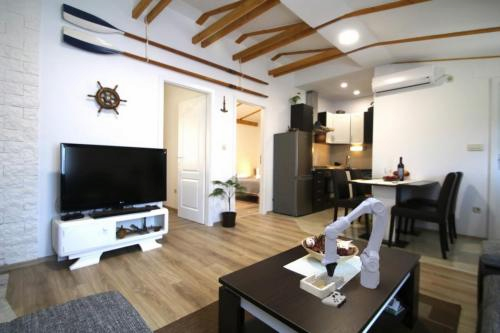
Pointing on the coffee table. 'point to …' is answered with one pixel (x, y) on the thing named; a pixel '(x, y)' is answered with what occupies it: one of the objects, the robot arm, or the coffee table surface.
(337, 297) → the gaming controller
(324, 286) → the chip
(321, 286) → the chip
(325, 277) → the slot block
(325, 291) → the tray
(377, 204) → the robot arm
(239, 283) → the coffee table surface
